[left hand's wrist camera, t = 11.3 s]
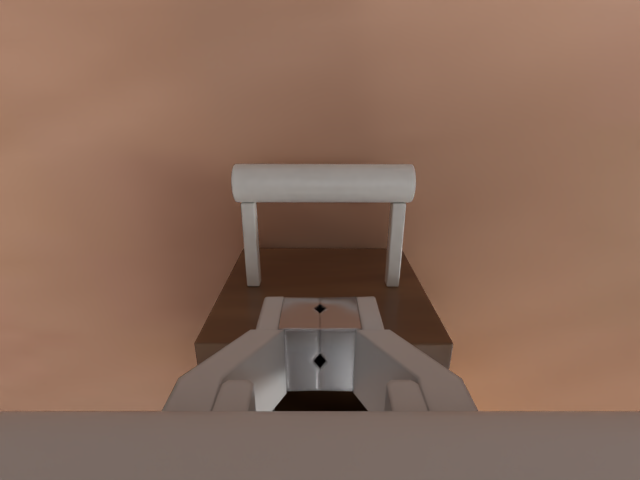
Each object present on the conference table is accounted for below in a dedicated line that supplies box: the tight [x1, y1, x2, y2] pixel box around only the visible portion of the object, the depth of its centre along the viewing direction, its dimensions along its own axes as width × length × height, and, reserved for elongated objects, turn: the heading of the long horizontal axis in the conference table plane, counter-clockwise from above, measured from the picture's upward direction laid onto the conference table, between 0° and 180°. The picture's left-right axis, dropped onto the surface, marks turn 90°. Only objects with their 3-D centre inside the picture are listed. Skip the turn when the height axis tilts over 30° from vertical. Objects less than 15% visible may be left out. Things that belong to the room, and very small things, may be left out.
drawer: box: [195, 164, 453, 411], centre depth 20 cm, size 24×10×9 cm, turn 0°
